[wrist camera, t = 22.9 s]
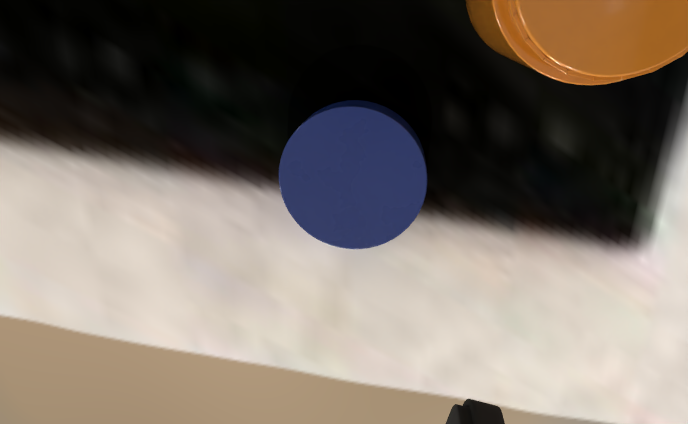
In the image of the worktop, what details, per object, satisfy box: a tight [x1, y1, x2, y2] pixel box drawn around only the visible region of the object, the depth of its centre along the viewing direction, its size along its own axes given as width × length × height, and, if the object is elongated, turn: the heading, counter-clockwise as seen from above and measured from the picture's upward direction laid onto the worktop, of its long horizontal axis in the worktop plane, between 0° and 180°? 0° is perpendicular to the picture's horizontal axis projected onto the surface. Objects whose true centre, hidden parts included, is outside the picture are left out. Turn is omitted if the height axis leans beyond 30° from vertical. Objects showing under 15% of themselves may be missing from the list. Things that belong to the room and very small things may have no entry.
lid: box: [279, 100, 427, 249], centre depth 26 cm, size 7×7×2 cm
